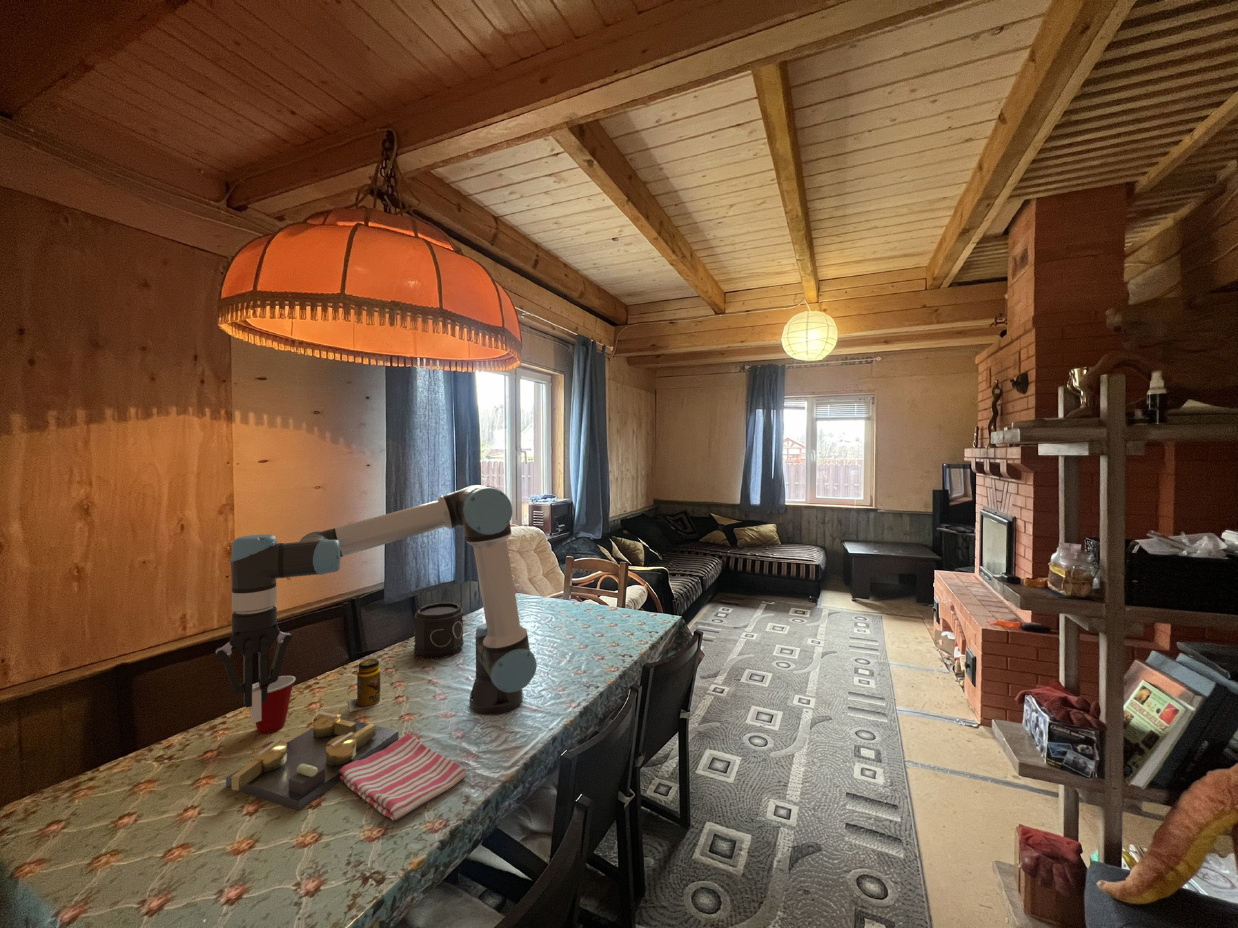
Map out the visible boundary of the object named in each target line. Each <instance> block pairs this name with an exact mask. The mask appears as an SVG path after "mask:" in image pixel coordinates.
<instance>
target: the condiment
mask: <svg viewBox="0 0 1238 928" xmlns="http://www.w3.org/2000/svg"><path fill="white" fill-rule="evenodd" d="M356 689H357V690H356V695H357V696H356V699H355V698H354V699H350V700H347V704H348V709H349V711H348V712H349V713H352V712H356V711H360V710H364V709H368V708H372V707H378V706H380V705H383V704H384V702H383V700H382V695H381V668H380V661H379V659H377V658H367V659H364V660H362V661H360V662H359V663H358V672H357V676H356Z"/></svg>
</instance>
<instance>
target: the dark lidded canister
mask: <svg viewBox="0 0 1238 928" xmlns="http://www.w3.org/2000/svg"><path fill="white" fill-rule="evenodd" d="M463 616H464V610H463V607H461V605H460V604H459V603H456V602H455V603H454V602H436V603H431V604H430V603H429V604H425V605H424V606H422V607H419V608H418V609H417V611H416V612H415V614H414V619H413V621H414V622H415V623H414V647H413V648H414V649H413V650H414V653H416V655H417V657H420V658H423V659H425V660H426V659H427V660H428V659H430V660H433V659H442V658H447V657H450V656H453V655H455V654H457V653H458V652H459V651H460V649H462V647H463V646H464V642H465V641H464V621H463V619H464V618H463ZM446 656H447V657H446Z"/></svg>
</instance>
